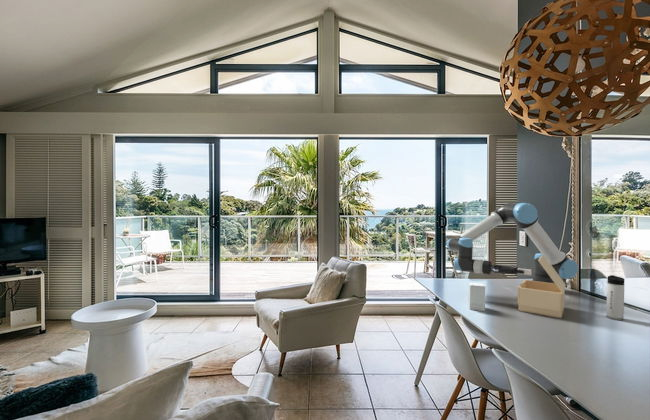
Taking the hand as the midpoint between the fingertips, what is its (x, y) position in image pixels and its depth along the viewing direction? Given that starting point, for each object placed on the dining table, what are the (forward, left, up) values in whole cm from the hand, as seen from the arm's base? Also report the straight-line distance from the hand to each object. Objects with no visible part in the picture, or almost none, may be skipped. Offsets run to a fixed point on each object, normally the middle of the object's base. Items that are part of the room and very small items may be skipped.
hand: (531, 272), depth 178 cm
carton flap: (-5, +7, +1) cm, 9 cm away
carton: (-3, +4, -19) cm, 19 cm away
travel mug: (-23, +26, -19) cm, 39 cm away
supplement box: (+28, -9, -19) cm, 35 cm away
